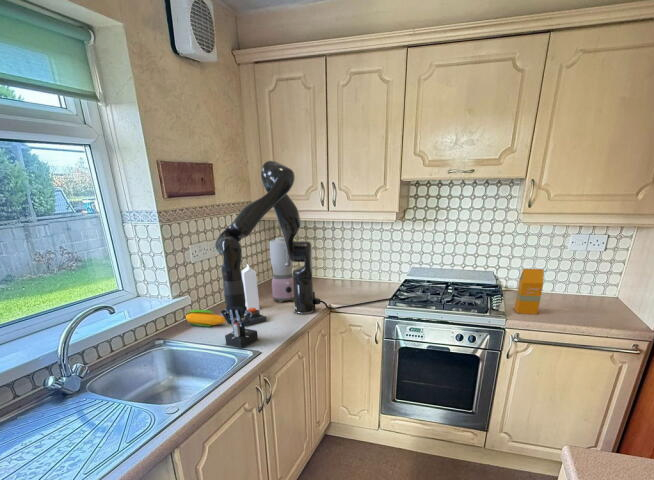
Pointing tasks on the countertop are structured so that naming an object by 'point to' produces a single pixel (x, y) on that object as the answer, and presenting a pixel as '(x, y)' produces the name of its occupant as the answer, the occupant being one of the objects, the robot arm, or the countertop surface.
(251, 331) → the fryer panel
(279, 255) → the blender
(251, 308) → the power button
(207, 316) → the corn
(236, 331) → the timer knob
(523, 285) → the orange juice
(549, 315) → the countertop surface
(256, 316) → the button block
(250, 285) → the milk
